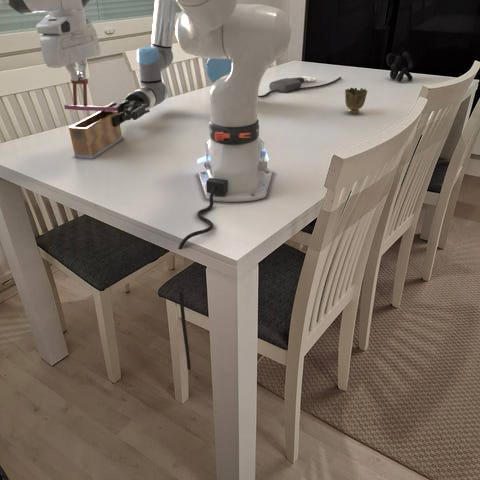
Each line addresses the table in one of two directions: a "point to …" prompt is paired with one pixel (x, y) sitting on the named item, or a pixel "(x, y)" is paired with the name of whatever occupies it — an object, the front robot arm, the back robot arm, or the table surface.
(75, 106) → the lid
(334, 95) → the table surface
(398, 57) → the squiggle
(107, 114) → the chest
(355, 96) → the cup
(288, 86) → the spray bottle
